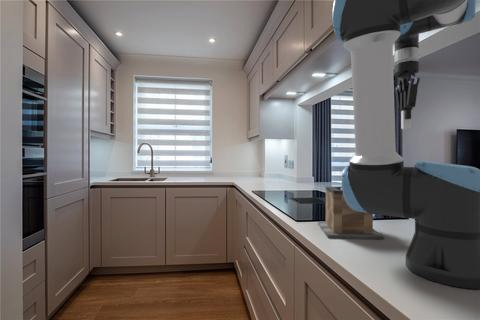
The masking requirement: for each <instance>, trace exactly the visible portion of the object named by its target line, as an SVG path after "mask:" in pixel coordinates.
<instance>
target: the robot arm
mask: <svg viewBox="0 0 480 320" xmlns="http://www.w3.org/2000/svg"><path fill="white" fill-rule="evenodd" d="M331 17H332V27H333V28H334V29H333V32H334V36H335V39H336V40H337V41H339V42H343V48H344V49H346V50H347V51H348V52H349V53H350V60H351V62H350V64H351V65H350V66H351V81H352V83H351V84H352V103H353V107H352V108H353V124H354V144H355V145H354V146H355V154H354V155H352V156H351V158H350V159H349V160H348V161H349V164H348V165H347V166H345V167H344V168H343V170H342V173H341V177H342V178H341V187H342V191H343V195H344V198H345V201H346V203H347V204H348V206H349V207H350V208H351V209H352V210H354V211H358V212H364V213H367V214H373V215H380V216H388V217H396V218H402V219H403V218H406V219H413V220H414V234H412V239H411V241H410V242H409V246H408V248H407V251H406V253H405V266H406V268H408V270H409V271H411V272H412V273H414V274H416V275H418V276H419V277H421V278H424V279H427V280H429V281H433V282H436V283H438V284H442V285H446V286H450V287H451V286H452V287H456V288H464V289H472V290H473V289H474V290H480V168H477V167H475V166H470V165H461V164H454V163H453V164H452V163H445V162H444V163H443V162H439V161H438V162H436V161H426V160H416V161H415V163H414V164H413V166H405V165H404V164H405V163H404V161H405V159H404V157H403V156H401V155H399V153H397V151H396V150H397V148H396V119H395V114H396V113H395V98H396V105H397V111H400V114H401V115H400V117H401V118H400V119H401V120H400V124H401V125H400V126H401V127H400V129H401V130H410V129H412V110H413V108H415V107H416V103H417V96H418V90H419V89H418V88H419V83H420V77H416V74H418V73H419V71H420V63H419V60H420V58H419V57H420V51H419V50H420V48H419V47H420V45H419V41H420V38H419V37H420V34H424V33H428V32H433V31H434V30H439V29H444V28H447V27H453V26H456V25H461V24H464V23H467V22H470V21H472V20H474V19H475V17H476V0H334V1H333V7H332V15H331ZM393 45H394V46H393ZM393 47H394V48H393ZM394 76H395V77H398V82H397V86H395V85H394V84H395V80H394Z"/></svg>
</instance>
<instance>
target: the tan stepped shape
mask: <svg viewBox="0 0 480 320" xmlns="http://www.w3.org/2000/svg"><path fill="white" fill-rule="evenodd" d="M340 188H342V186H325V221H318V222H317V225H318V226H319V228H320V230H321V231H322V232H323V233H324V235H325V236H326V238H327V239H350V240H351V239H353V240H356V239H357V240H359V239H360V240H384V235H383V234H381V233H380V232H378V231H377V230H375V228H373V227H374V224H373V223H374V214H367V213H364V212H358V211H354V210H352V209H351V208H350V207H349V206H348V204H347V203H346V201H345V198H344V195H343V191H342V190H340Z"/></svg>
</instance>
